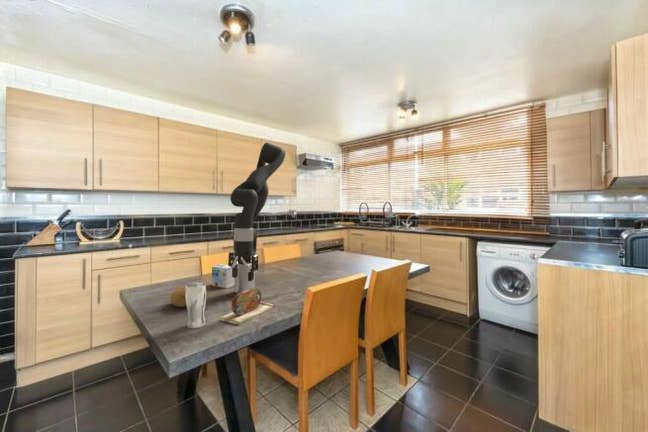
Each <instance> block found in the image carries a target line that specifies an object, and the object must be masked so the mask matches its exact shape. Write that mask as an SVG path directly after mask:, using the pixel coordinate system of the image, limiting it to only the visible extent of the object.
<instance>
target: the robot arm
mask: <svg viewBox="0 0 648 432" xmlns="http://www.w3.org/2000/svg"><path fill="white" fill-rule="evenodd" d="M285 158H286V150H285V149H284V148H283V147H281V146H278V145H275V144H273V143H271V142H265V143H264V144H263V145H262V147H261V150H260V153H259V156H258V160H257V164H256V168H255V169H254V170H253V171H251V173H250V174H249V176H248V177H247V178H246V180H245V181H243V182H242V183H240V184H239V185H238V186H236V187H235V188H234V189H233V191H231V194H230V202H231V204H232V205H233V206H234V207H239V208H242V211H241V212H239V213H236V214H235V215H234V230H233V233H232V241H233V251H229V252H228V260H227V261H228V264H227V265H228V266H229V267H231V268H232V277H233V278H234V287H233V288H234V290H233V291H234V293H235V295H237V294H239V293H241V292H243V291H246V290H248V289H251V288H254V289H255V288H256V271H258V270H259V255H258V254H256V253H257V246H258V245H257V244H258V243H257V242H258V234H257V231H256V229H255V228H254V227H253V225H254V222H255V220H256V218H257V217H258V216H259V214H260V213H261V211H262V210H263V209H264V206H265V205H266V203H267V199H268V196H269V187H268V183H267V181H268V179H269V178H270V177H272V175H273V174H274V173H276V171H277V170H278V169H279V168H280V167H281V166H282V165H283V163H284V161H285Z"/></svg>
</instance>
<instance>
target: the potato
mask: <svg viewBox="0 0 648 432" xmlns="http://www.w3.org/2000/svg"><path fill="white" fill-rule="evenodd" d="M185 295H186V285H182V286H178V287H176V288H175V289H174V290H173V292H171V295H170V303H171V304H172V305H174V306H175V307H178V308H179V307H181V308H183V307H187V306H186V298H185Z"/></svg>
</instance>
